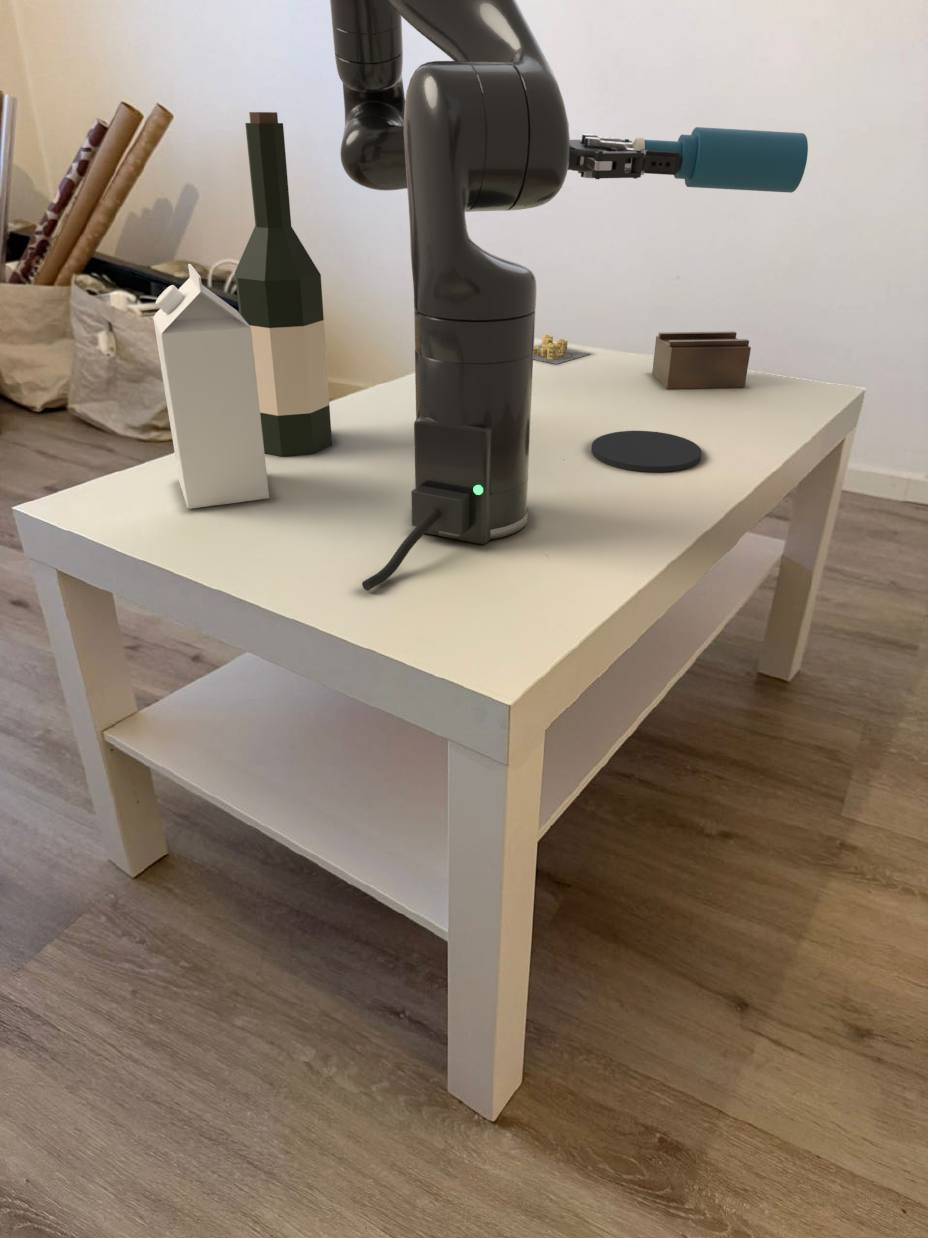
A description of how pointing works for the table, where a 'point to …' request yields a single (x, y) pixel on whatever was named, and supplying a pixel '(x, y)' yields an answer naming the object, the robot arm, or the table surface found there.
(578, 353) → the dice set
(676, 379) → the cradle
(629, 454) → the coaster
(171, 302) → the milk carton
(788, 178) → the bottle
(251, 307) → the wine bottle
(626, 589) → the table surface
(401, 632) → the table surface
